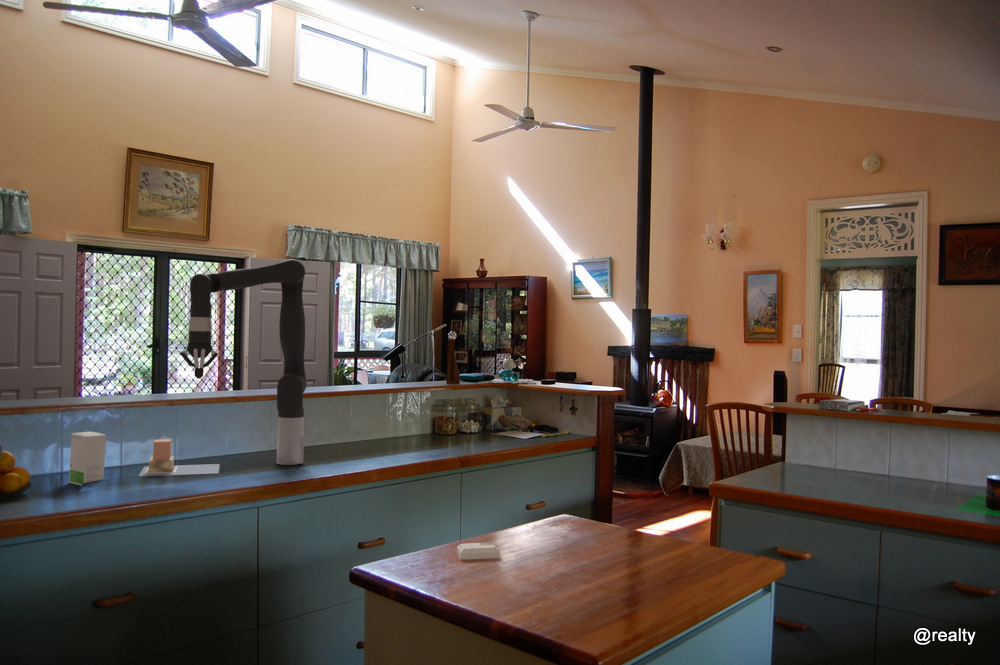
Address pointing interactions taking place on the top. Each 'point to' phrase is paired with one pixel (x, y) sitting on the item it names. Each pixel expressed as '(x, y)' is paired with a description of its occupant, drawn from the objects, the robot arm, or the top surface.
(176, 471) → the board
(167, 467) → the beech base block
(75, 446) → the skincare box
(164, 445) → the terracotta block
